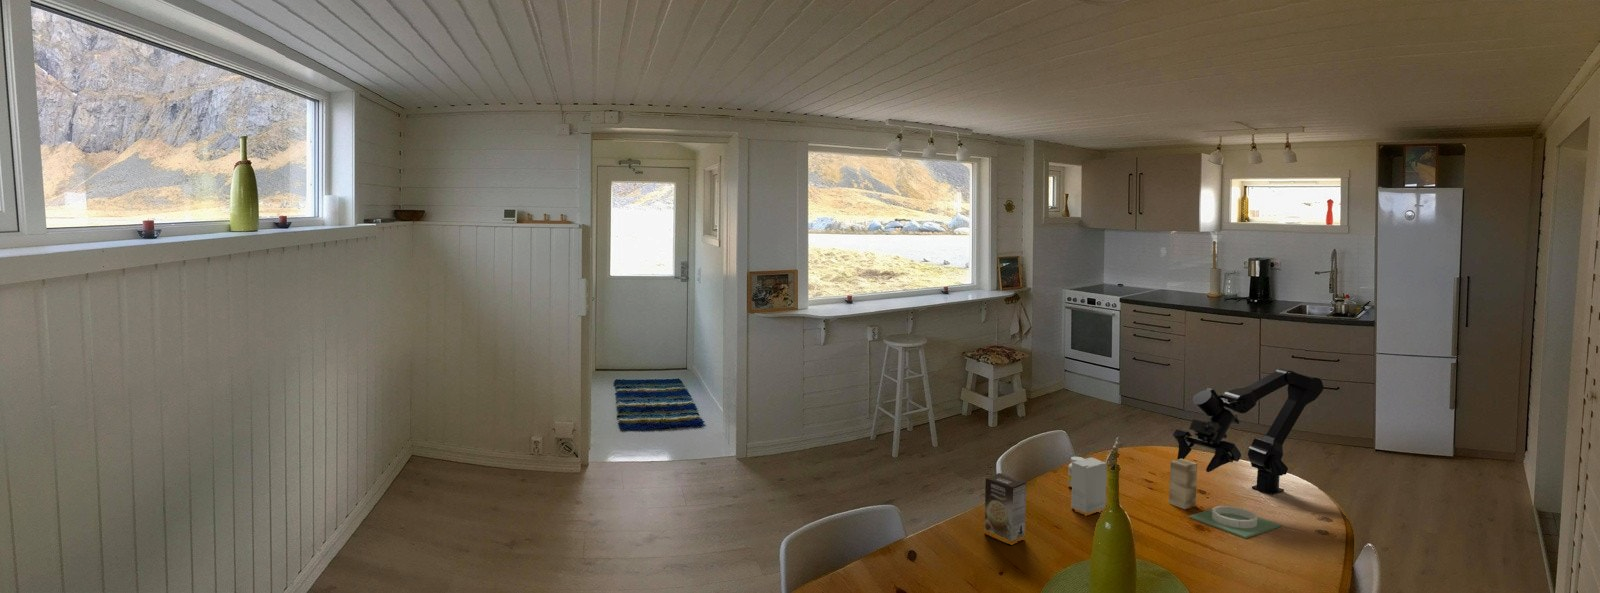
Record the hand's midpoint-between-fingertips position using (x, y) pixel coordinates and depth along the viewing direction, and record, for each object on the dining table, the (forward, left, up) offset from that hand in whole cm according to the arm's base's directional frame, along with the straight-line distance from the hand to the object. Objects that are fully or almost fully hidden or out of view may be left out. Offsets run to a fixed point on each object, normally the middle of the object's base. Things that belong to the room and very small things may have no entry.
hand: (1192, 466), depth 216 cm
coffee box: (+66, -8, -11) cm, 68 cm away
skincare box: (+32, -10, -11) cm, 35 cm away
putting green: (+3, +15, -11) cm, 19 cm away
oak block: (+4, 0, -11) cm, 12 cm away
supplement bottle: (+20, -25, -11) cm, 34 cm away
